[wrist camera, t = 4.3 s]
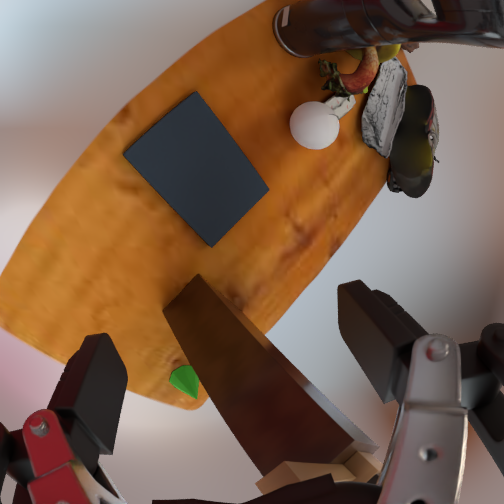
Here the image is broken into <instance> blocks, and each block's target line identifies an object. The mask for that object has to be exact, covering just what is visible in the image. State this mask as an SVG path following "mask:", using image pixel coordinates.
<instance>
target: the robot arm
mask: <svg viewBox="0 0 504 504" xmlns="http://www.w3.org/2000/svg"><path fill="white" fill-rule="evenodd" d="M431 1H432V3H433V6H434V9H435V12H436V15H435V14H434V13H432V12H431V11H430V10H429V9H428V8H427V7H426V6H425V5H424V4H423V2H422V1H421V0H302V1H299V2H297V3H294V4H292V5H288V6H286V7H284V8H282V9H280V10H279V11H278V12H277V13H276V15H275V17H274V20H273V31H274V34H275V37H276V39H277V41H278V43H279V44H280V45H281V47H282V48H283V49H284V50H285V51H287V52H288V53H289V54H291V55H293V56H296V57H300V58H307V57H311V56H314V55H319V54H325V53H330V52H336V51H343V50H349V49H356V48H364V47H373V46H382V45H393V44H408V43H451V44H461V45H469V46H477V47H486V48H500V49H504V0H431ZM337 291H338V292H337V293H338V324H339V330H340V333H341V336H342V338H343V340H344V341H345V343H346V345H347V346H348V348H349V349H350V351H351V352H352V354H353V355H354V357H355V359H356V360H357V362H358V363H359V365H360V366H361V368H362V370H363V371H364V373H365V374H366V376H367V377H368V379H369V380H370V382H371V384H372V385H373V387H374V389H375V390H376V392H377V393H378V395H379V397H380V398H381V400H382V401H383V403H384V404H385V403H388V402H390V401H392V400H395V399H396V401H397V402H398V403H399V408H398V412H397V416H396V420H395V425H394V428H393V433H392V436H391V440H390V443H389V447H388V451H387V454H386V458H385V460H384V463H383V466H382V469H381V472H380V474H379V477H378V480H377V483H376V485H375V484H370V483H365V482H354V481H342V482H334V480H333V477H332V474H331V473H329V474H325V475H322V476H319V477H315V478H312V479H308V480H304V481H301V482H297V483H293V484H288V485H285V486H283V487H281V488H279V489H276V490H274V491H272V492H270V493H267V494H265V495H262V496H260V497H258V498H255V499H253V500H250V501H248V502H245V503H241V504H458V500H459V495H460V489H461V484H462V477H463V470H464V463H465V453H466V444H467V443H466V442H467V430H468V421H469V422H470V424H471V425H472V427H473V428H474V430H475V431H476V433H477V434H478V436H479V437H480V439H481V440H482V442H483V443H484V445H485V447H486V448H487V450H488V451H489V453H490V455H491V456H492V458H493V459H494V461H495V463H496V464H497V466H498V468H499V469H500V471H501V473H502V474H503V476H504V395H503V393H502V392H501V391H500V389H501V387H502V385H503V386H504V324H502V323H493V324H489V325H487V326H486V327H485V328H484V329H483V330H482V333H481V336H480V339H479V341H474V342H468V343H463V344H457V343H456V342H455V340H453V339H452V338H450V337H448V336H446V335H442V334H428V333H427V332H426V331H425V330H424V329H423V328H422V327H421V326H420V325H419V324H418V323H417V322H416V321H415V320H414V319H413V318H412V317H411V316H410V315H409V314H408V313H407V312H406V311H404V309H403V308H402V307H401V306H400V305H398V304H397V302H396V301H395V300H394V299H393V298H392V297H390V295H388V294H386V293H384V292H381V291H379V290H373V291H371V290H370V289H369V288H368V287H367V286H366V285H365V284H364V283H363V282H362V281H361V280H355V281H351V282H348V283H344V284H340V285H339V286H338V289H337ZM127 382H128V376H127V370H126V367H125V365H124V363H123V361H122V359H121V357H120V355H119V354H118V352H117V350H116V348H115V346H114V344H113V342H112V340H111V338H110V336H109V335H108V334H107V333H100V334H94V335H87V336H86V337H85V339H84V341H83V343H82V345H81V347H80V349H79V350H78V351H77V352H76V353H75V354H74V355H73V356H72V357H71V358H70V359H69V360H68V362H67V365H66V367H65V369H64V372H63V373H62V375H61V378H60V381H59V382H58V384H57V386H56V389H55V391H54V393H53V395H52V398H51V400H50V402H49V405H48V407H47V409H42V410H38V411H36V412H34V413H33V414H32V415H30V416H29V417H28V418H27V420H26V421H25V423H24V425H23V429H19V430H15V431H11V432H9V431H8V430H7V429H6V427H5V426H4V425H3V424H2V423H1V422H0V495H1V490H2V486H3V482H4V478H5V475H6V474H7V475H9V476H10V477H11V478H12V479H13V480H15V481H16V482H17V485H16V489H15V493H14V498H13V503H12V504H128V503H127V502H126V501H125V499H124V498H123V496H122V495H121V493H120V492H119V491H118V489H117V488H116V486H115V485H114V483H113V482H112V480H111V478H110V477H109V475H108V474H107V472H106V471H105V469H104V467H103V466H102V465H101V463H100V462H99V461H98V459H99V454H104V455H107V454H108V455H112V454H113V449H114V444H115V438H116V433H117V428H118V423H119V418H120V413H121V409H122V404H123V400H124V395H125V391H126V386H127ZM0 504H2V503H1V499H0ZM152 504H234V503H223V502H213V501H205V500H198V499H180V500H152Z"/></svg>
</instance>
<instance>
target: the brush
mask: <svg viewBox="0 0 504 504" xmlns="http://www.w3.org/2000/svg"><path fill="white" fill-rule="evenodd" d="M382 466H383V464H382V463H381V462H380V461H379V460H377V459H376V458H375V457H374V456H373V455H372V454H371V453H367V452H360V451H357V452H356V453H355V454H354V455H353V456H352V457H350V458H349V459H348V460H347V461H346V462H345V463H344V464H318V463H302V462H290V461H283V462H282V463H281V464H280V465H278V466H277V467H276V468H275V469H273V470H272V471H271V472H270V473H268V474H267V475H266V476H264V477H263V478H262V479H260V480H259V481H258V482H256V483H255V484H256V486H257V487H258V488H259V490H260V491H261V493H262V494H263V495H265V494H267V493H270V492H272V491H274V490H276V489H279V488H281V487H283V486H285V485H288V484H293V483H297V482H301V481H304V480H308V479H312V478H315V477H319V476H322V475H325V474H329V473H331V474H332V477H333V480H334V482H342V481H354V482H365V483H370V484H375V485H376V483H377V480H378V477H379V474H380V472H381V469H382Z"/></svg>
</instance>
